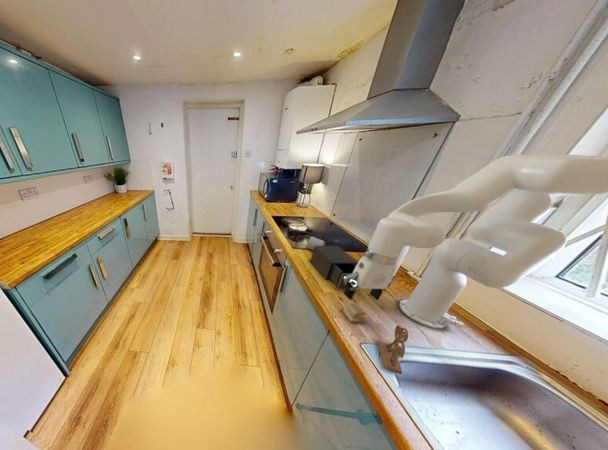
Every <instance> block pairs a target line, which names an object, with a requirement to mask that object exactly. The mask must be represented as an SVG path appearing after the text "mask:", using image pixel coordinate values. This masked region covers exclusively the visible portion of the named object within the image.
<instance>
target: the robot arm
mask: <svg viewBox="0 0 608 450" xmlns="http://www.w3.org/2000/svg"><path fill="white" fill-rule="evenodd" d="M606 193H608V156H603V155H585V154H583V155H582V154H566V153H532V154H519V153H518V154H508V155H504V156H501V157H499V158H497V159H494V160H493V161H491V162H490V163H488V164H487V165H485V166H484V167H482V168H481V169H479V170H478V171H476V172H475V173H473V174H472V175H470V176H469V177H467V178H465V179H464V180H463V181H461V182H460V183H458V184H456V185H455V186H454V187H452V188H450V189H448V190H444V191H439V192H434V193H430V194H427V195H424V196H420V197H417V198H414V199H411V200H409V201H407V202H405V203H403V204H402V205H400V206H399V207H398V208H396V209H395V210H393V211H392V212H391V213H389V214H388V216H387V217H382V218H381V219H380V220H378V223H377V225H376V227H375V230H374V232H373V234H372V236H371V239H370V242H369V243H368V245H367V248H366V250H365V252H363V255H362V257H361V258H360V259H359V261H357V262H358V264H357V265H356V267H355V269H354V271H353V273H352V274H350V275H347V276H344V277H343V279H344V283H345V284H346V286H347V287H346V289H344V291H343V295H344V296H345V297H346V298H347V300H350V301H351V300H352V299H353V298H354V295H355V294H356V290H357V289H356V288H358V287H360V288H363V289H362V290H370V291H369V295H370V296H371V297H372V298H373V299H374V300H376V301H379V299H380V298H381V296H382V294H383V292H384V291H386V290H387V288H389V287H391V285H392V284H393V283H394V282H395V281H396V278H394V276H393V274H394V271H395V268H396V263H395V262H396V260H397V258H398V256H399V254H400V252H401V250H402V248H403V247H404V246H405V245H407V246H410V247H413V248H418V249H432V248H433V250H432V253H431V258H430V261H429V263H428V265H427V267H426V269H425V271H424V273H423V274H422V276H421V278H420V279H419V281H418V282H417V284H416V286H415V288H414V290H413V291H412V293H411V294H410V296H409V298H408V299H403V300H400V302H399V304H398V306H399V309H400V310H401V311H402V312H403V314H405V315H406V316H407V317H408V318H410V319H411V320H413V321H415V322H416V323H419V324H421V325H423V326H425V327H429V328H433V329H443V328H445V327H446V326H447V325H448V324H450V325H453V326H454V327H457V328H458V329H463V328H464V326H465V323H464V322H462V321H459V320H457V319H458V318H457V317H456V316H454V315H450V314H448V313H447V312H448V311H449V310H450V308H451V307H452V306H453V305H454V303H455V301H456V300H457V299H458V298H459V296H460V295H461V293H462V292H463V291H464V289H465V288H466V286H467V283H468V281H467V280H468V278H469V279H471V280H473V281H475V282H476V283H479V284H481V285H483V286H486V287H488V288H492V289H502V288H507V287H509V286H511V285H513V284H514V283H516V282H518V281H519V280H521V279H522V278H524V277H526V276H527V275H528V274H530V273H531V272H533V271H535V270H536V269H538V268H539V267H540V266H542V265H544V264H545V263H547V262H548V261H549V260H551V259H553V258H554V257H555V256H556V255H558V254H559V253H561V251H562V250H563V249H564V248H565V246H566V244H567V241H568V238H567V235H566V234H565V233H564V231H561V230H559V229H557V228H554V227H551V226H549V225H545V224H540V223H537V222H538V221H539V220H540V219H541V218H543V217H544V216H545V215H546V214H548V213H549V212H550V210H551V209H552V199H551V196H591V195H592V196H593V195H602V194H606ZM550 195H551V196H550ZM493 204H494V205H493ZM492 205H493V206H492ZM490 206H492V207H491V208H489V207H490ZM487 208H489V209H488V210H487V211H485V212H483V214H482V215H480V216H479V217H478V218H477V219H476V220H474V221H473V222H472V223H471V224H470V226H468V227H467V229H466V234H467V236H469V237H470V238H471V239H473V240H474V241H476V242H479V243H482V244H484V245H487V246H489V247H491V248H495V249H497V250H500V251H503V252H505V254H504V255H503V254H501V253H498V252H495V251H493V250H491V249H488V248H486V247H483V246H481V245H479V244H476V243H473V242H471V241H467V240H464V239H461V238H452V237H451V238H446V237H447V234H446V232H445V230H444V229H443V228H442V227H440V226H439V225H436V224H435V223H432V222H429V221H426V220H424V219H422V218H419V217H422V216H425V215H430V214H436V213H476V212H481V211H484V210H486V209H487ZM356 281H357V282H356ZM352 283H356V284H355V285H354V286H352V285H351V284H352Z"/></svg>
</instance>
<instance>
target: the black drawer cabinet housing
mask: <svg viewBox="0 0 608 450" xmlns="http://www.w3.org/2000/svg"><path fill="white" fill-rule="evenodd" d="M309 262H310V263H311V264H312V265H313V266H314V267H315V269H316V270H317V271H318V272H319V273H320V274H321V276H322V277H323V278H324V279H325V280H331V279H330V277H329V273H330V270H331V267H332V265H333V264H355V265H357V264H358V262H359V261H357V260H356V259H355V258H354V257H353V256H351V255H350V254H348V253H347V252H346V251H345V250H344V249H343V248H341V247H340V246H339V245H325V246H314V250H312V254H311V257H310V261H309Z"/></svg>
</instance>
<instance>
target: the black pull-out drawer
mask: <svg viewBox="0 0 608 450" xmlns="http://www.w3.org/2000/svg"><path fill="white" fill-rule="evenodd" d="M355 267H356V265H355V264H333V265H332V267H331V270H330V273H329V277H330V279H329V280H331V281H332V282H333V283H334V284H335V286H336V289H337V290H345V289H346V287H347V286H346V284H345V283H344V279H343V277H344V276H347V275H350V274H352V273H353V271H354V269H355ZM356 282H357V281H356ZM355 284H356V283H352V284H351V285H352V286H354V285H355ZM355 290H364V289H363V288H360V287H358V288H356V289H355Z"/></svg>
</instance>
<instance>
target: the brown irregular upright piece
mask: <svg viewBox="0 0 608 450" xmlns="http://www.w3.org/2000/svg"><path fill="white" fill-rule="evenodd" d="M408 339H409V330H408V329H407V328H405V327H402V326H401V325H400V324H397V325H396V326H395V328H394V340H393V341H392V342H390V343H387V342H384V341H381V340H378V342H377V344H378V348H379V352H380V356H381V360H382V363H383V367H384V368H385V369H387V370H389V371H392V372H394V373H396V374H398V375H402V374H403V370H402V367H401V364H400V360H399V358H404V356H405V353H406V345H405V343H406V342H407V341H408ZM398 357H399V358H398Z"/></svg>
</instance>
